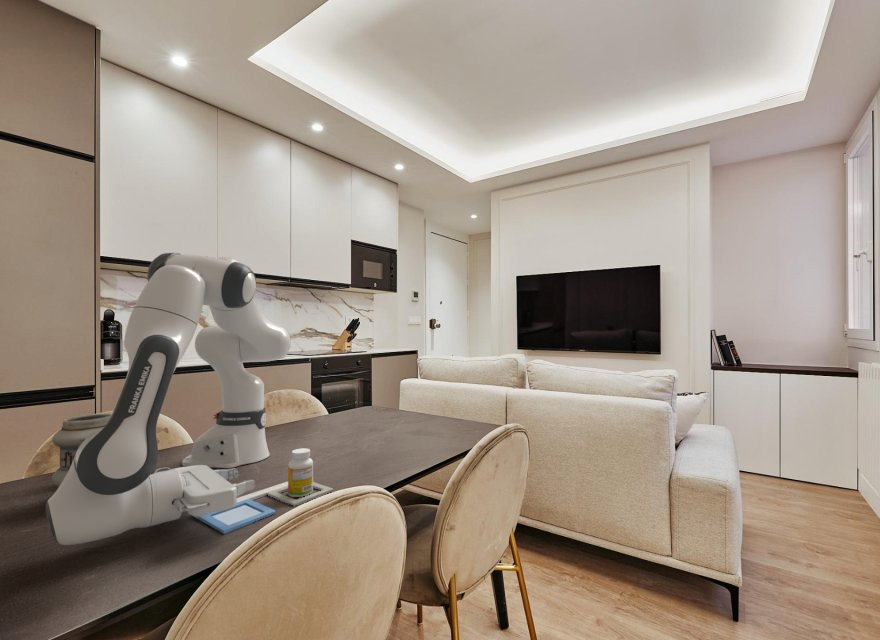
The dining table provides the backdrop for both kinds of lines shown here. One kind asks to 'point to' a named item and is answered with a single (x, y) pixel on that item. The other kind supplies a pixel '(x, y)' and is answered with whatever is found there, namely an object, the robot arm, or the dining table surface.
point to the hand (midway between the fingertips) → (245, 478)
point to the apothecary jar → (75, 439)
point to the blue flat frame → (255, 507)
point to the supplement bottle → (300, 473)
